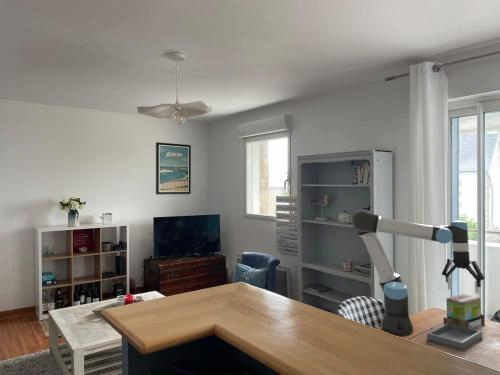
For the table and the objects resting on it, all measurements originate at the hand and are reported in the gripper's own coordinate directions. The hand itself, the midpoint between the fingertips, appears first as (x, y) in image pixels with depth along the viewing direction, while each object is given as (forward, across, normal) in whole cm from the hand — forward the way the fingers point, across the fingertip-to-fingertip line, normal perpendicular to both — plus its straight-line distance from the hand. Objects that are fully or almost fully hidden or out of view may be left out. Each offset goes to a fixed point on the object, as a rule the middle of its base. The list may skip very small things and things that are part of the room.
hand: (463, 291), depth 197 cm
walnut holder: (+18, 0, 0) cm, 18 cm away
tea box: (+18, 0, 0) cm, 18 cm away
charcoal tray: (+18, -5, +22) cm, 29 cm away
